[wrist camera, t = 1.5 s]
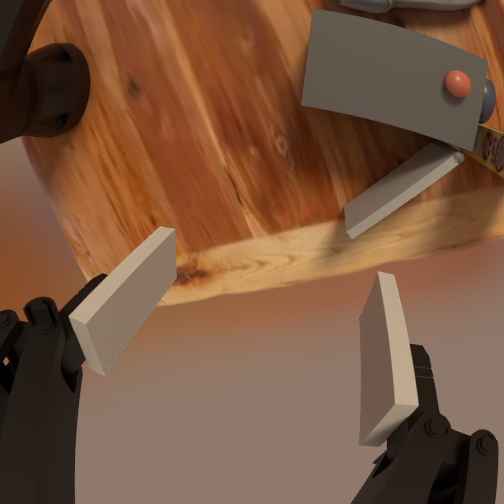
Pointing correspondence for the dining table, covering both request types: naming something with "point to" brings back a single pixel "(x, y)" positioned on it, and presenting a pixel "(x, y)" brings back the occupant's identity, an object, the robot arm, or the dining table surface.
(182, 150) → the dining table surface
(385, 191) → the side door
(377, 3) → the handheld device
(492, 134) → the candy box
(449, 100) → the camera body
